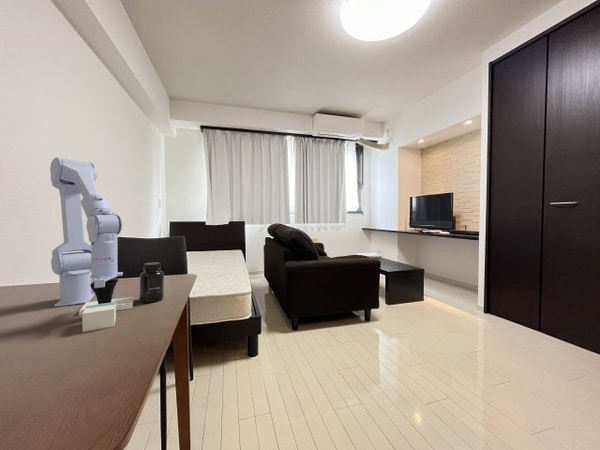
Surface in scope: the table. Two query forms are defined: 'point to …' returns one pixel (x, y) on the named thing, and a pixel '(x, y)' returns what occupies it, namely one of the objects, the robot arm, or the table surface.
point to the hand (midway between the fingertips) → (105, 307)
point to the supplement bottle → (151, 283)
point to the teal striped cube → (99, 316)
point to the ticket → (120, 303)
